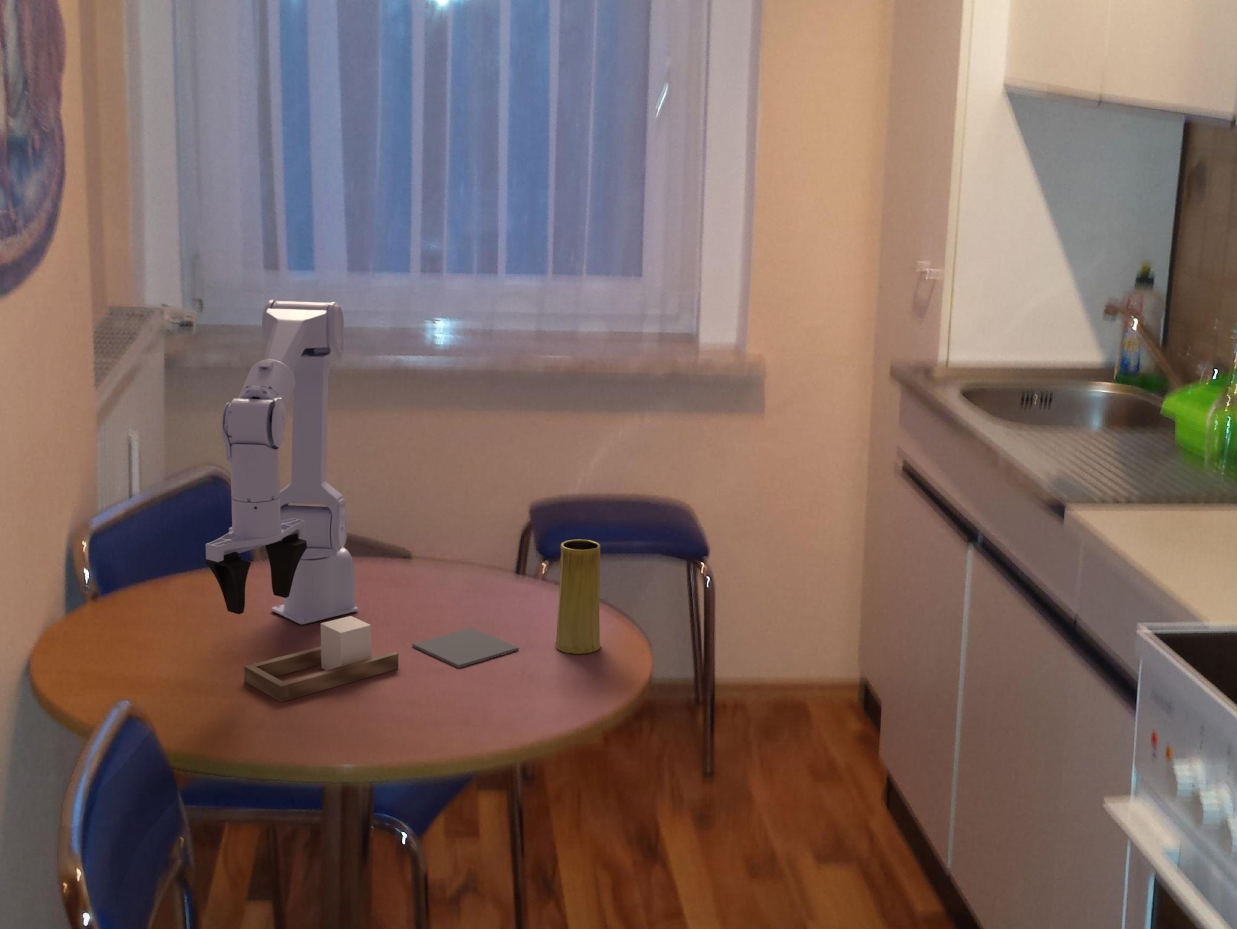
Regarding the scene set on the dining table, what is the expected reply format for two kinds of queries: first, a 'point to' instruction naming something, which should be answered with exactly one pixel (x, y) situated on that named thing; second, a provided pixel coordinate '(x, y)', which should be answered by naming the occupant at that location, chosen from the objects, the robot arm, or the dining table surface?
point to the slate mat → (465, 647)
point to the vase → (579, 597)
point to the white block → (344, 642)
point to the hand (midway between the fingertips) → (258, 603)
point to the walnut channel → (282, 691)
